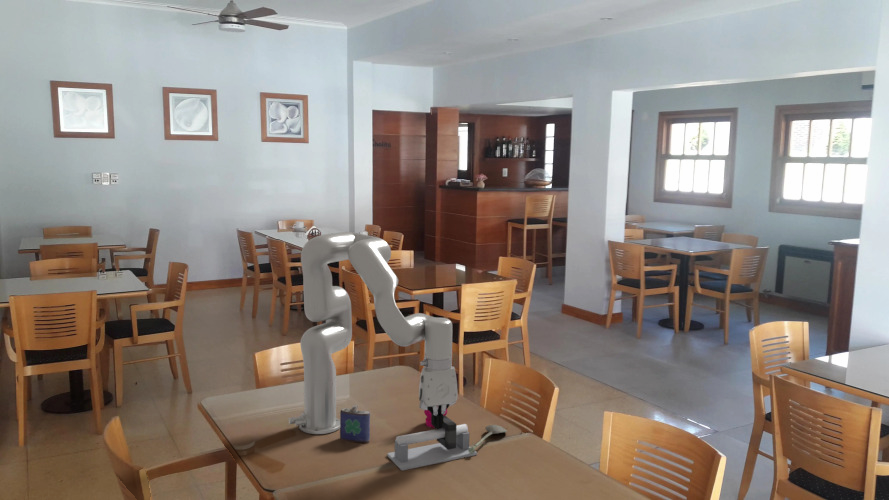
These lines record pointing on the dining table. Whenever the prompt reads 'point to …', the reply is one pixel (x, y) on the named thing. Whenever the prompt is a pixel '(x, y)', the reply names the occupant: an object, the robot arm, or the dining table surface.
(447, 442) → the collar
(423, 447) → the rail
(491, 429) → the soupspoon
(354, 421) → the flask
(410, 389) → the dining table surface
